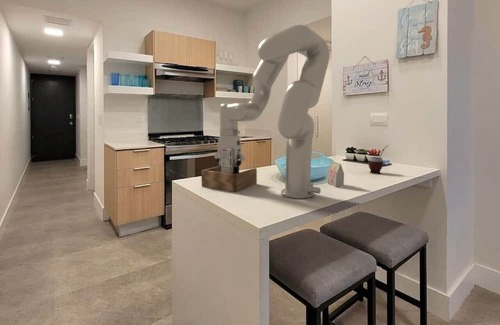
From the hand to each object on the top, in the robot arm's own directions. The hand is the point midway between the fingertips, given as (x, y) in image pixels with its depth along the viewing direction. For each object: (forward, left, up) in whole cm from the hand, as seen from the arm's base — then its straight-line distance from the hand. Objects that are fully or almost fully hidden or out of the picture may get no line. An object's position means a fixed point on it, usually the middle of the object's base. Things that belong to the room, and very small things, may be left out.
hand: (229, 174), depth 133 cm
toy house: (-39, -25, -5) cm, 47 cm away
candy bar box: (0, 0, -5) cm, 5 cm away
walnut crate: (0, 0, -5) cm, 5 cm away
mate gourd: (-49, -63, -5) cm, 80 cm away
